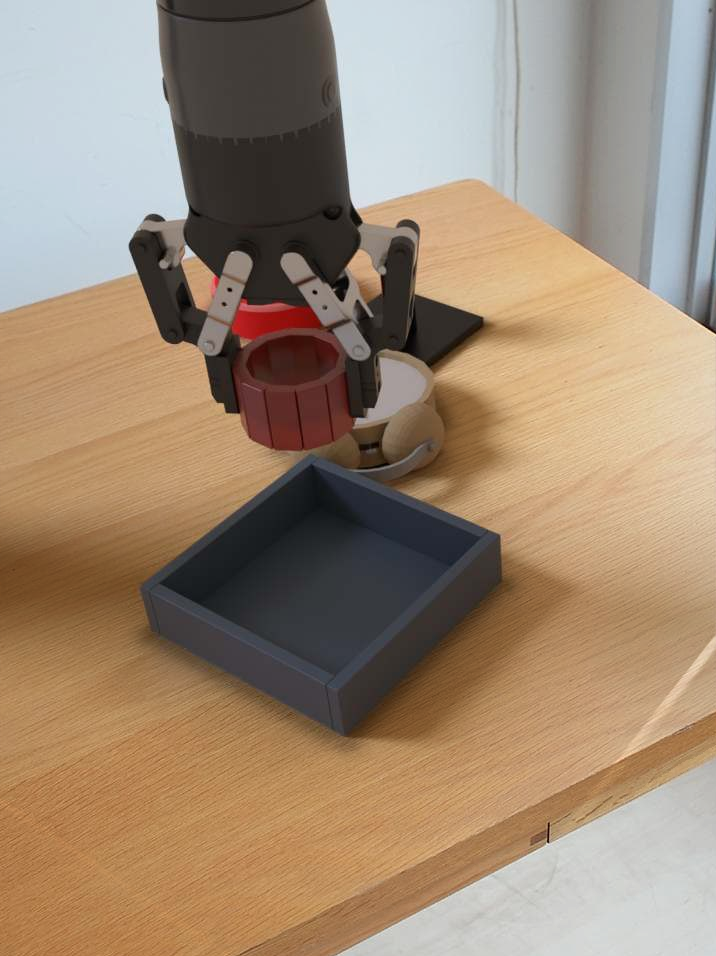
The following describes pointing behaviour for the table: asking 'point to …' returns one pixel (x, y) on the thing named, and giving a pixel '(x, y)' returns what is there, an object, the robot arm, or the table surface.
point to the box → (324, 590)
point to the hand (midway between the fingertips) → (298, 406)
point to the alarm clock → (391, 424)
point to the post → (432, 327)
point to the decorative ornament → (269, 317)
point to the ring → (293, 389)
